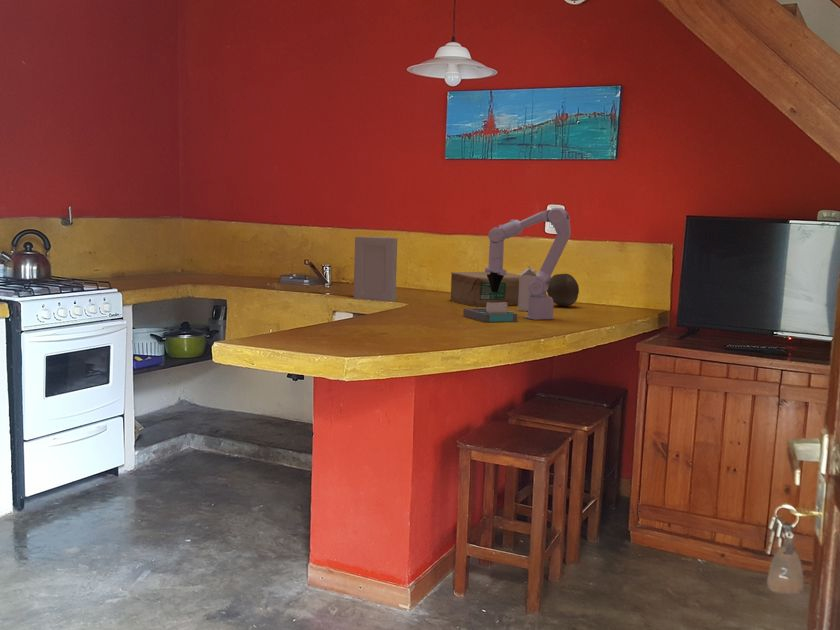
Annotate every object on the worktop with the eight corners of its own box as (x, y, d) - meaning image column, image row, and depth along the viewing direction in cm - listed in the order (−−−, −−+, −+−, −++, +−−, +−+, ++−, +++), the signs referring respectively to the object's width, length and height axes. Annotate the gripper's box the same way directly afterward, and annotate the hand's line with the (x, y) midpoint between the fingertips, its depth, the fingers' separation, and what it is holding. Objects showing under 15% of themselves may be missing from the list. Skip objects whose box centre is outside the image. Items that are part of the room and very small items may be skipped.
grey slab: (504, 320, 313) (505, 302, 313) (506, 320, 312) (507, 302, 311) (485, 320, 310) (486, 302, 309) (487, 321, 309) (488, 303, 308)
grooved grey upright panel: (402, 298, 380) (404, 238, 376) (392, 301, 366) (394, 238, 362) (364, 295, 385) (366, 236, 382) (352, 298, 371) (354, 236, 368)
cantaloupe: (562, 304, 376) (564, 272, 374) (584, 308, 365) (586, 274, 363) (539, 305, 369) (541, 272, 367) (560, 309, 357) (562, 275, 355)
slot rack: (494, 315, 326) (495, 307, 326) (517, 321, 310) (517, 313, 309) (463, 316, 321) (463, 307, 321) (484, 322, 304) (484, 313, 304)
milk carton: (519, 311, 345) (521, 266, 342) (517, 309, 352) (519, 265, 349) (536, 311, 345) (538, 266, 342) (534, 309, 352) (536, 265, 349)
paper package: (477, 307, 353) (478, 275, 352) (447, 301, 376) (448, 271, 374) (528, 306, 366) (529, 275, 364) (496, 300, 389) (497, 270, 387)
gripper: (478, 256, 330) (477, 290, 331) (495, 259, 316) (494, 293, 318) (494, 256, 332) (492, 290, 334) (511, 259, 319) (510, 293, 321)
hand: (494, 291), depth 326 cm, fingers closed
